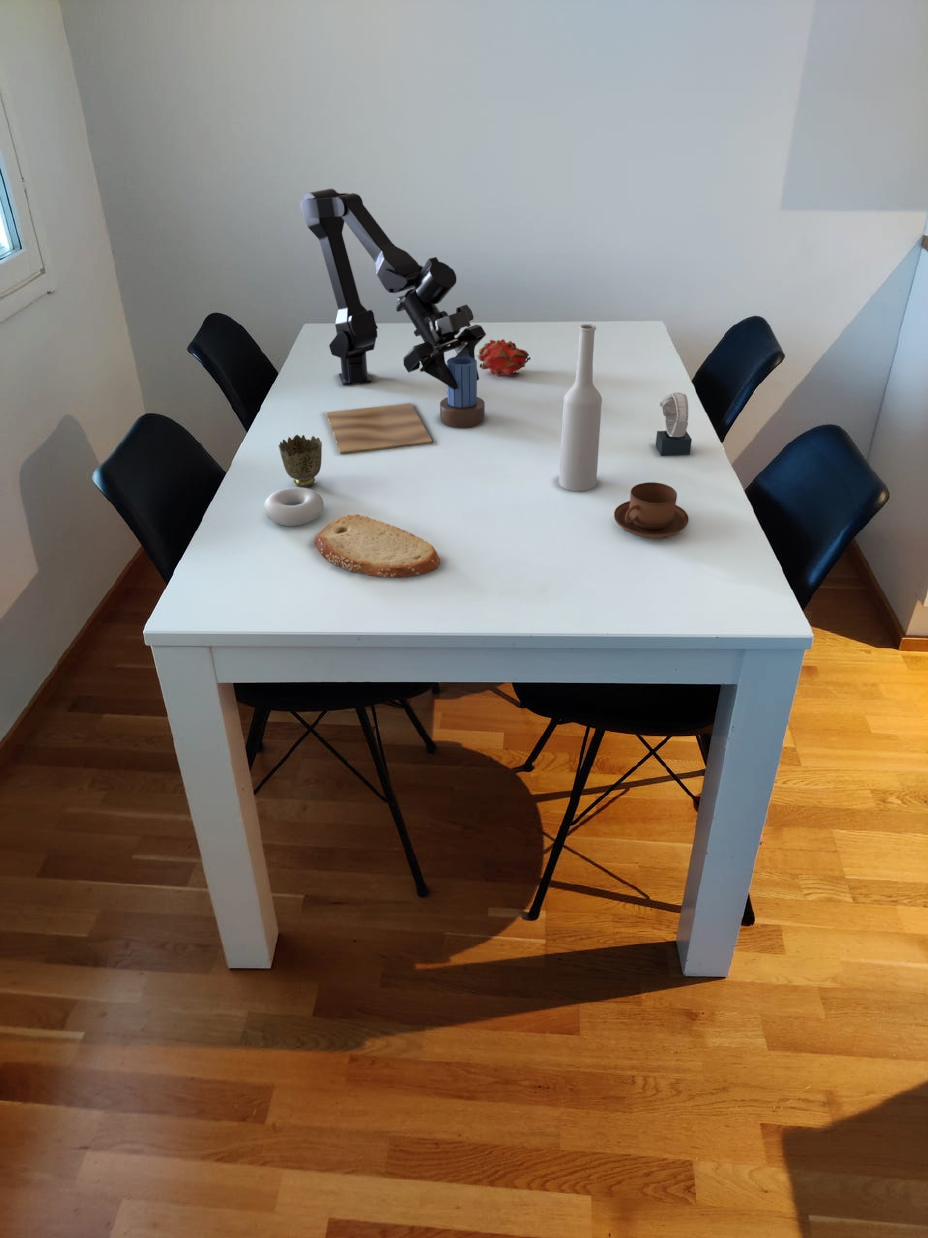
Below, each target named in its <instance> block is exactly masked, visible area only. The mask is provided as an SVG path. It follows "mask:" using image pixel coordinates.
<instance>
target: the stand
mask: <svg viewBox="0 0 928 1238" xmlns="http://www.w3.org/2000/svg"><path fill="white" fill-rule="evenodd" d="M485 405H486V403H485V401H484V399H482V398H480V397H478V396H477V403H476V404H475V405H474V406H471V407H466V408H463V407H462V408H458V407H453V406H451V405H449V404H448V396H446V397H445V398H443V399H442V400H440V403H439V413H440V414H439V415H440V420H439V421H440V422H441V423H442V424H443V425H444V426H447V427H449V428H454V429H469V428H474V427H477V426H480V425H482V424H483V423H485V420H486V419H485V417H486V416H485V415H486V413H485V412H486V411H485V410H486V409H485Z"/></svg>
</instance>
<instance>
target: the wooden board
mask: <svg viewBox="0 0 928 1238" xmlns="http://www.w3.org/2000/svg"><path fill="white" fill-rule="evenodd" d="M325 415H326V418H327V421H328V423H329V426H330V429H331V432H332V434H333V437H334V440H335V443H336V445H337V448H338V451H339V454H340V455H342V454H350V453H352V454H353V453H359V452H366V451H367V452H369V451H375V450H376V451H377V450H384V449H394V448H400V447H409V446H419V445H426V444H433V440H432V438H431V436H430V434H429V433H428V431H427V429H426V427H425V425H424V424H423V422H422V420H421V418H420V417H419V415H418V413H417V411H416V410H415V407H414V406H413V404H412V402H409V403H400V404H399V403H398V404H391V405H382V406H374V407H363V408H355V409H346V410H345V409H344V410H336V411H328V412H325Z"/></svg>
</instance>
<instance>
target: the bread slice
mask: <svg viewBox="0 0 928 1238" xmlns="http://www.w3.org/2000/svg"><path fill="white" fill-rule="evenodd" d="M313 544H314V546H315V548H316V551H317V552H318V553H319V555H321V557H323V559H324V560H326V561H327V562H329V563H330V564H334V565H335V566H337V567H339V568H342V569H344V570H346V571H349V572H350V573H351V572H353V573H362V574H365V575H367V576H371V577H377V578H395V579H396V578H398V579H399V578H410V577H417V576H421V575H425V574H428V573H431V572H433V571H434V570H437V569H439V567H440V566H441V563H442V561H441V558H440V557H439V555H438V553H437V551H436V549H435V547H434V545H432V544H430V543H429V542H428V541H426V540H424V539H423V538H422V537H420V536H416V535H414V534H413V533H411V532H409V531H407V530H404V529H402V528H400V527H397V526H394V525H391V524H389V523H386V522H383V521H381V520H377V519H375V518H371V517H369V516H365V515H361V514H359V513H356V514H353V515H352V514H351V515H350V514H348V515H345V516H342V517H339V518H338V519H335V520H333V521H332V522H330V523H328V524H327V525H326V526H325V527H324V528H322V529H321V530H320V531H319V533H318V534H317V535H315V538H314V539H313Z"/></svg>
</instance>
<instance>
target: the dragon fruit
mask: <svg viewBox="0 0 928 1238" xmlns="http://www.w3.org/2000/svg"><path fill="white" fill-rule="evenodd" d="M477 359H478V361H480V362H482V363H480V364H479V368H480V369H482V370H490V374H491V375H496V376H497V378H499V377H502V375H505V376H510V377H516V376H518V375H520V374H521V373H520V372H517V371H519V370H521V369H522V368H526V367H525V366H526V364H527V363H528V362H529V361H530V360H531V356H530V354H529V352H528V351H527V350H524V349H521V348H518V347H517V346H516V343H515V342H513V341H511V340H509V341H507V342H506V340H505V339H503V338H502V339H501V340H500V339H498V340H494V339H489V342H487V343H484V344H483V347H481V348H479V351H478V354H477Z"/></svg>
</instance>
